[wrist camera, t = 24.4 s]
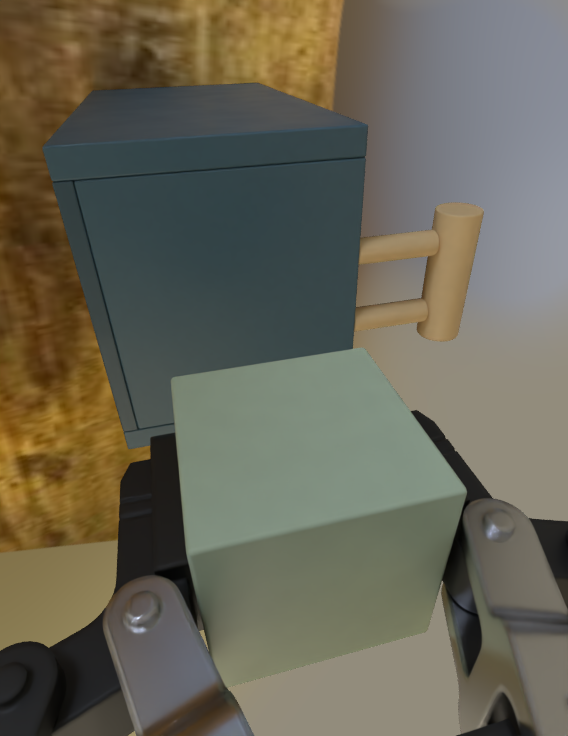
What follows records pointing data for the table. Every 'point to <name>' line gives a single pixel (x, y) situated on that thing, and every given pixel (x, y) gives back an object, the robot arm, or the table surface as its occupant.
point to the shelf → (231, 237)
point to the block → (309, 511)
